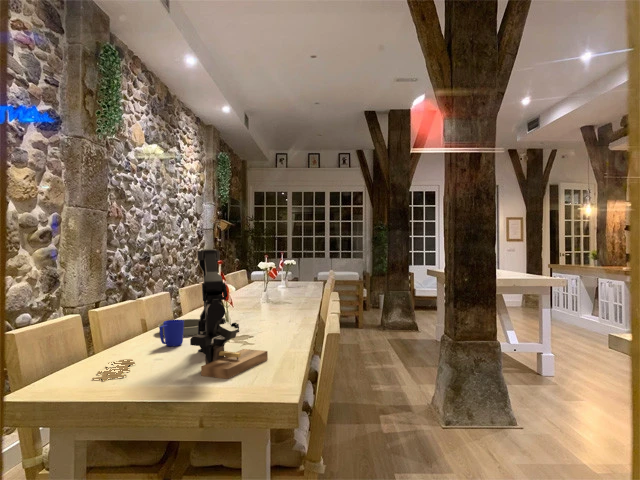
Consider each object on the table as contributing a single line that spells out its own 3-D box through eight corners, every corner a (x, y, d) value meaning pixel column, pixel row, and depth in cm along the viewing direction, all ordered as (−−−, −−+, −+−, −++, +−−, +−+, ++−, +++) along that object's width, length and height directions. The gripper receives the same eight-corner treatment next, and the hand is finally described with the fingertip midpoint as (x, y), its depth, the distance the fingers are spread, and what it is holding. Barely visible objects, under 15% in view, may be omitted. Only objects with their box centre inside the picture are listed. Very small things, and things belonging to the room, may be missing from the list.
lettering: (108, 362, 166) (108, 360, 166) (138, 360, 168) (138, 358, 168) (89, 383, 142) (89, 380, 142) (124, 380, 144) (124, 377, 144)
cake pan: (168, 328, 234) (168, 319, 234) (216, 327, 233) (216, 318, 233) (149, 338, 209) (149, 328, 209) (202, 337, 208) (202, 327, 208)
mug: (152, 348, 186) (152, 324, 186) (172, 342, 197) (172, 319, 197) (169, 350, 183) (168, 325, 183) (188, 343, 194) (188, 320, 194)
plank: (201, 375, 146) (201, 366, 146) (243, 357, 170) (243, 348, 170) (227, 378, 143) (227, 368, 143) (267, 359, 166) (267, 350, 166)
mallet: (205, 366, 158) (205, 347, 158) (213, 363, 161) (212, 344, 161) (235, 370, 151) (235, 350, 152) (243, 367, 155) (242, 348, 155)
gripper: (217, 321, 147) (217, 370, 147) (248, 313, 164) (249, 356, 164) (188, 319, 151) (189, 367, 151) (222, 311, 168) (222, 354, 168)
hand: (214, 361), depth 158 cm, fingers closed on mallet, 4 cm apart
